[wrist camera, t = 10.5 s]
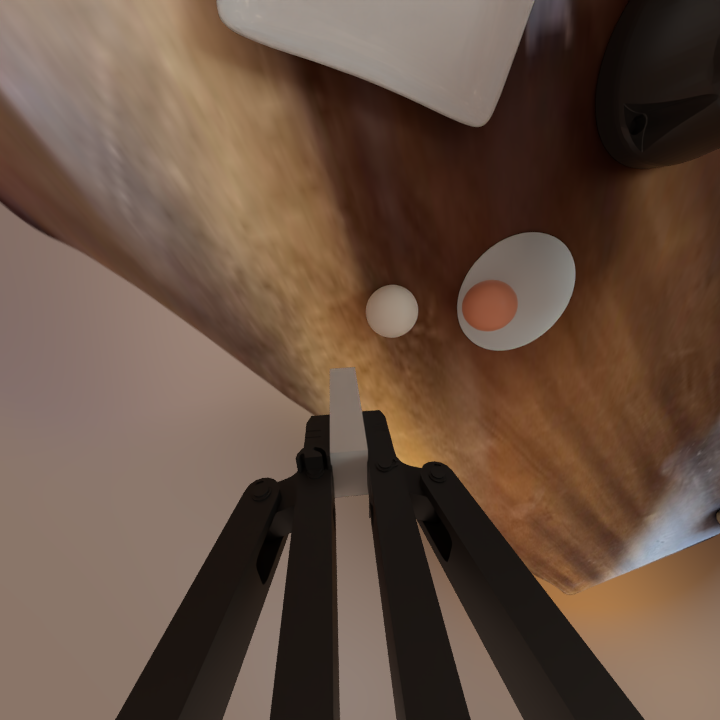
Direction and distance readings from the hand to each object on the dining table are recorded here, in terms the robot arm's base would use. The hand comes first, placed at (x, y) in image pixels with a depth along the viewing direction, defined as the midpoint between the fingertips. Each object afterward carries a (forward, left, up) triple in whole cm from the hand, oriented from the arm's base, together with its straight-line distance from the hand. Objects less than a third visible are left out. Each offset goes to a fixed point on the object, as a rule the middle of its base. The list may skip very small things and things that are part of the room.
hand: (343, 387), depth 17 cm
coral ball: (-16, 0, -14) cm, 21 cm away
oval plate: (-21, 0, -16) cm, 27 cm away
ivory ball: (-6, 0, -14) cm, 15 cm away
